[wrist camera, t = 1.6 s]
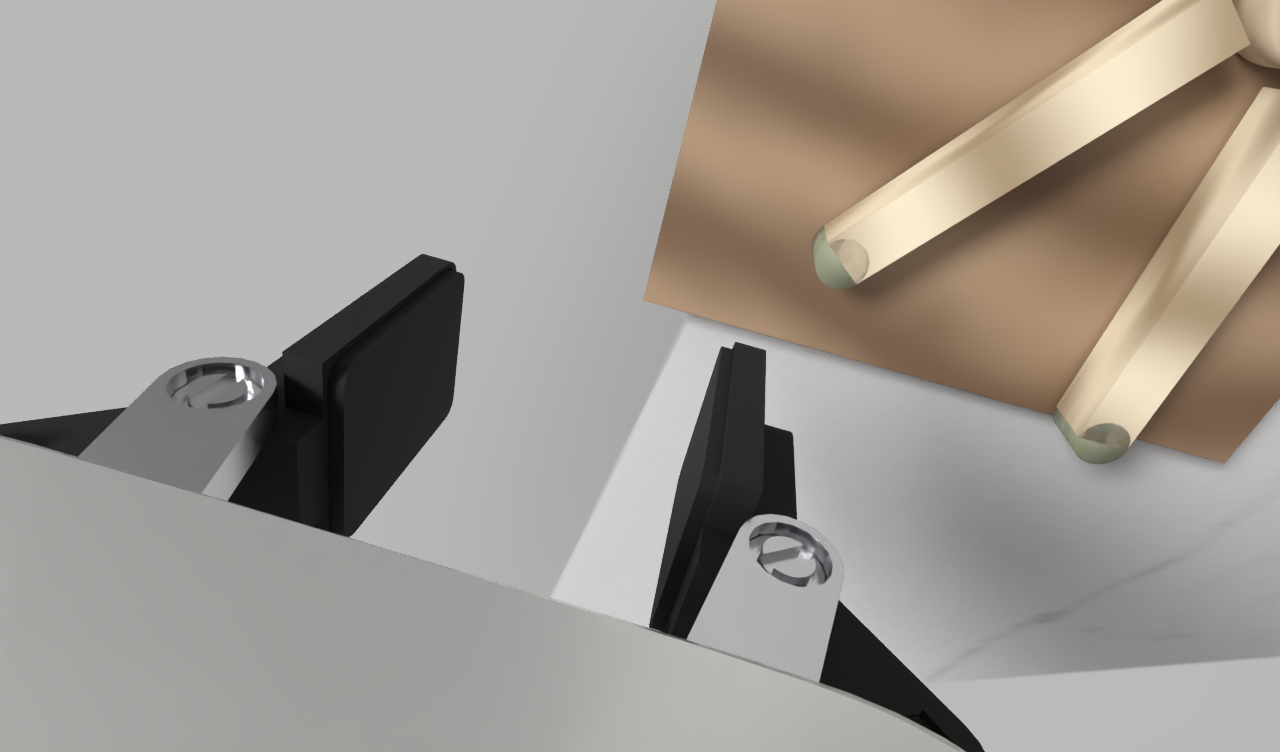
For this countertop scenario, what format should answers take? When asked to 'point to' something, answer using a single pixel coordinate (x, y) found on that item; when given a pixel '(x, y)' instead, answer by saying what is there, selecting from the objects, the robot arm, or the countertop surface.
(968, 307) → the board
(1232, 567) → the countertop surface
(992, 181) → the tong arm
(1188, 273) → the tongs fixed
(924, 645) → the countertop surface
